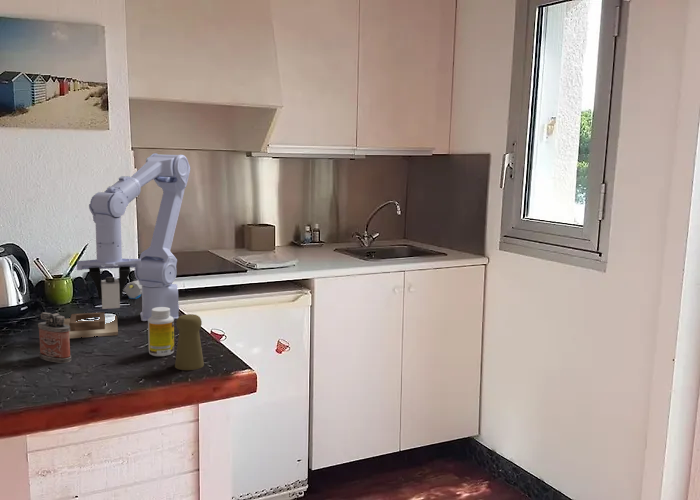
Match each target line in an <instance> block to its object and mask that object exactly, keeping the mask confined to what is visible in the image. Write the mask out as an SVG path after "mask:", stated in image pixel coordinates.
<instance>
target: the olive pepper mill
mask: <svg viewBox="0 0 700 500" xmlns="http://www.w3.org/2000/svg"><path fill="white" fill-rule="evenodd" d="M175 322H176V323H175V325H176V329H177V330H178V338H177V345H176V352H175V353H176V354H175V361H174V362H175V363H174V368H175V369H177V370H180V371H194V370H195V371H196V370H199V369H203V367H204V366H205V362H204V355H203V349H202V342H201V336H200V335H201V334H200V329H201V328H202V319H201V317H200V316H199V315H197V314H192V313H187V314H182V315H180V316H178V319H176V321H175Z"/></svg>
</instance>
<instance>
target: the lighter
mask: <svg viewBox="0 0 700 500" xmlns="http://www.w3.org/2000/svg"><path fill="white" fill-rule="evenodd" d="M40 319H41V320H45V321H43V322H38V323H37V328H38V333H39V334H38V335H39V351H40V352H39V353H38V355H39V356H38V357H39V359H41V360H43V361H44V360H45V361H48V362H53V363H59V364H65V363H69V362H71V361H72V355H71V344H70V343H71V342H70V339H71V338H70V337H69V331H70V326H68V325H65V324H64V319H65V316H63V315H60V313H58V312H55V313H51V312H46V311H45V312H41V313H40Z"/></svg>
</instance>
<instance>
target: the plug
mask: <svg viewBox="0 0 700 500" xmlns="http://www.w3.org/2000/svg"><path fill="white" fill-rule="evenodd" d="M101 290H102V299H101V309H102V310H106V309H120V308H121V298H120V290H119V279H117V278H116V279H115V277H114V276H107V277H105V279H103V280H102V279H101Z"/></svg>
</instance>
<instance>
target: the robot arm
mask: <svg viewBox="0 0 700 500" xmlns="http://www.w3.org/2000/svg"><path fill="white" fill-rule="evenodd" d="M190 172H191V166H190V163H189V160H188V157H186V155H184V154H160V153H159V154H158V153H152V154H151V155H149V156H147V158H146V159H145V162H144V164H143V165H142V166H141V167H140V168H139V169H138V170H137V171H136V172H135V173H134V174H132V176H129V175H127V176H126V175H125V176H124V175H121V176H120V177H118V180H117V181H116V182H115V183H114V184H113V185H110V186H108V187H107V188H106V190H104V192H103V191H102V192H101V191H98V192H97V193H94V195H93V196H92V197H91V198H90V202H89V204H88V209H89V211H90V213H91V214H92V218H93V219H92V221H93V223H95V245H96V246H95V247H96V249H95V250H96V252H95V253H96V259H86V260H77V261H76V270H77V271H83V270H88V271H89V272H88V273H89V276H90V277H91V279H92V281H93V283H94V286H95V287H96V291H97V295H98V300H102V285H101V280H102V279H101V270H102V269H103V270H107V269H118V278H119V290H120V299H122V298H123V294H124V291H123V290H124V288H125V287H126V286H125V284H126V283H127V280H128V277H129V275H130V273H131V269H132V268H134V273H133V274H134V276H135V279H136V280H137V281H139V285H142V294H141V306H142V307H141V309H142V311H141V312H140V313H139V314H140V320H141V321H142V322H148V319H149V318H150V317H152V309H153V308H156V307H168V308H170V316H172V317H173V318H174V320H177V319H178V317H179V311H180V305H179V289H178V284H177V283H174V281H175V280H176V277H177V272H178V271H177V263H178V259H177V258H176V256H175V255H174V254H173V253H172V251H171V249H172V247H173V246H172V245H173V241H174V237H175V232H176V227H177V224H178V220H179V215H180V212H181V208H182V203H183V198H184V195H185V190H186V188H187V186H188V181H189V178H190ZM151 181H154V182H155V184H156V185H157V186H158V187H159V188H161V190H162V192H163V194H162V197H161V199H160V200H161V201H160V205H159V209H158V213H157V217H156V222H155V226H154V228H153V229H154V230H153V233H152V237H151V242H150V245H149V247H147V248H146V249H145V250H143V251H142V252H141V253H140V254H139V258H123V252H122V251H123V250H122V247H123V246H122V244H123V243H122V222H121V221H122V216H124V214H125V213H126V211H127V210H126V209H127V207H128V206H129V204H130V203H131V202H133V200H135V199H136V198H137V197H138V196H140V194H141V191H142V187H144V186H146V185H147V184H148V183H150V182H151Z"/></svg>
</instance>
